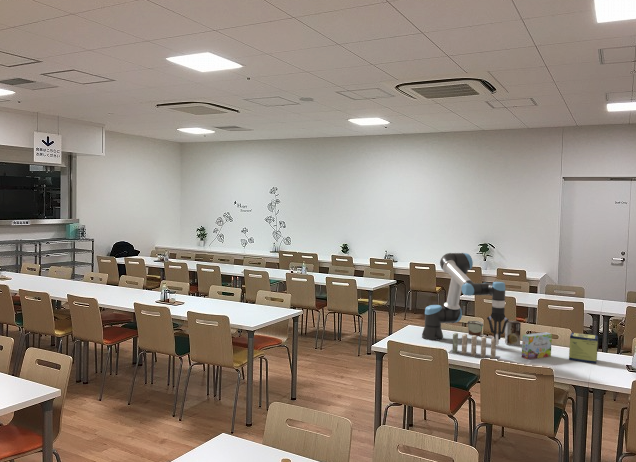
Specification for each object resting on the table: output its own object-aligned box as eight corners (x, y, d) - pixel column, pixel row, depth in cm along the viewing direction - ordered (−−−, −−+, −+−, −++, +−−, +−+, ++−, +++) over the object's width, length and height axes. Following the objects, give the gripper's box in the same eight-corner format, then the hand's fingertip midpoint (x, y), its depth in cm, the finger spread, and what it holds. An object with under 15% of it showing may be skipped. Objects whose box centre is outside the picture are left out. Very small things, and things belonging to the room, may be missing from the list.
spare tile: (452, 352, 340) (452, 334, 340) (454, 351, 344) (454, 332, 344) (455, 353, 339) (455, 334, 339) (457, 351, 343) (458, 333, 343)
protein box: (596, 363, 323) (597, 338, 322) (568, 360, 330) (569, 335, 330) (597, 359, 332) (598, 335, 331) (569, 356, 339) (570, 332, 339)
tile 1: (490, 358, 328) (491, 339, 328) (492, 356, 332) (492, 337, 332) (493, 358, 327) (494, 339, 327) (495, 357, 332) (496, 338, 331)
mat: (447, 353, 339) (447, 353, 339) (451, 350, 348) (451, 349, 348) (497, 361, 323) (497, 360, 323) (500, 357, 333) (500, 356, 333)
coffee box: (517, 343, 371) (518, 320, 370) (520, 345, 364) (521, 322, 364) (504, 343, 372) (505, 320, 371) (506, 345, 365) (507, 322, 365)
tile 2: (480, 356, 331) (481, 338, 331) (482, 355, 335) (483, 336, 335) (484, 357, 330) (484, 338, 330) (485, 355, 334) (486, 336, 334)
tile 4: (461, 354, 337) (462, 335, 337) (463, 352, 341) (464, 334, 341) (464, 354, 336) (465, 335, 336) (466, 352, 340) (467, 334, 340)
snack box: (528, 360, 328) (529, 336, 327) (521, 358, 333) (521, 334, 332) (551, 356, 338) (552, 333, 337) (544, 354, 342) (545, 331, 342)
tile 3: (471, 355, 334) (471, 336, 334) (472, 353, 338) (473, 335, 338) (474, 356, 333) (474, 337, 333) (476, 354, 337) (476, 335, 337)
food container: (486, 335, 393) (486, 322, 392) (482, 337, 388) (482, 323, 388) (470, 333, 401) (471, 320, 401) (466, 334, 397) (467, 321, 396)
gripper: (486, 306, 328) (485, 344, 329) (508, 308, 321) (506, 347, 322) (488, 304, 334) (487, 341, 335) (510, 307, 328) (509, 344, 329)
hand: (497, 344), depth 329 cm, fingers closed
